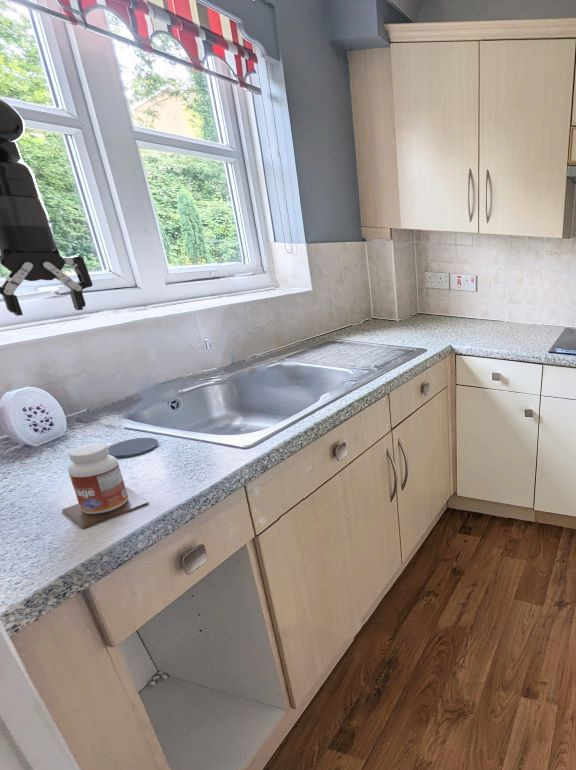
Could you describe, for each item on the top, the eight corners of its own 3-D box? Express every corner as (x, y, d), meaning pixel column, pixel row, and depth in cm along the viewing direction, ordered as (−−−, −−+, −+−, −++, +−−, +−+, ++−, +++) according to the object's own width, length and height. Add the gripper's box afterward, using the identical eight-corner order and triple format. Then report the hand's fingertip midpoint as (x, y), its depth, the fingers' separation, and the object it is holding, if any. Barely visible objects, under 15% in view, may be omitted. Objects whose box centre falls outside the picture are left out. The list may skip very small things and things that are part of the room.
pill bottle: (72, 511, 78) (52, 453, 74) (113, 493, 83) (96, 438, 79) (97, 518, 76) (78, 460, 72) (137, 500, 81) (121, 444, 78)
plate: (115, 462, 94) (114, 459, 94) (98, 450, 99) (97, 448, 98) (166, 446, 102) (165, 444, 101) (147, 436, 106) (147, 434, 106)
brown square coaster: (82, 529, 74) (82, 527, 74) (62, 511, 78) (61, 509, 78) (149, 504, 81) (148, 502, 81) (127, 488, 85) (126, 486, 85)
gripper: (66, 224, 90) (90, 306, 96) (-45, 220, 78) (-11, 314, 84) (80, 225, 86) (104, 310, 92) (-33, 222, 75) (2, 319, 80)
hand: (49, 312), depth 88 cm, fingers open, 8 cm apart
